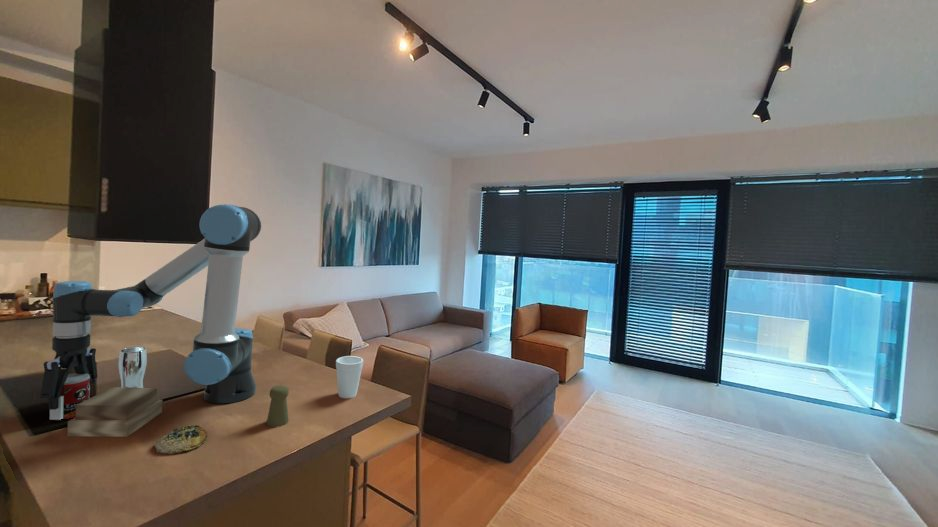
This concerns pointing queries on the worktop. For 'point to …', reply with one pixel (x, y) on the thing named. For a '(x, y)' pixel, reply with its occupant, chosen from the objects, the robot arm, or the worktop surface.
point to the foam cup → (348, 375)
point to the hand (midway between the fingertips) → (70, 412)
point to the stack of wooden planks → (115, 412)
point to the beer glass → (132, 366)
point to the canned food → (74, 393)
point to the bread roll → (181, 440)
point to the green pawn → (278, 406)
